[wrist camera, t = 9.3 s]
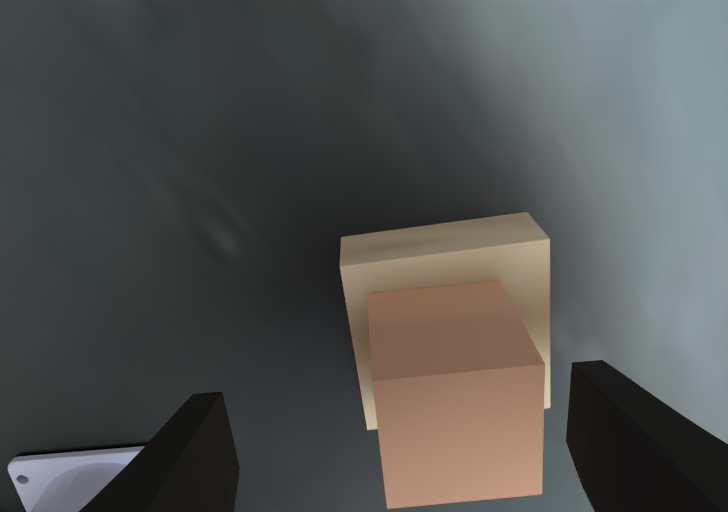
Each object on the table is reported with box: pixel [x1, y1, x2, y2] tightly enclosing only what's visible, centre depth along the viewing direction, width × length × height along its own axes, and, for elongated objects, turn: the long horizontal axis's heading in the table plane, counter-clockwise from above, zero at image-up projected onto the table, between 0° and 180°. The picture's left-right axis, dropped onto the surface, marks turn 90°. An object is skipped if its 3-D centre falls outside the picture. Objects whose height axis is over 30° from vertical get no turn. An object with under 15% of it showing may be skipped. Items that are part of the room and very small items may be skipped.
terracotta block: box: [367, 280, 545, 509], centre depth 18 cm, size 4×4×5 cm
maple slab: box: [340, 212, 550, 430], centre depth 22 cm, size 7×7×3 cm
